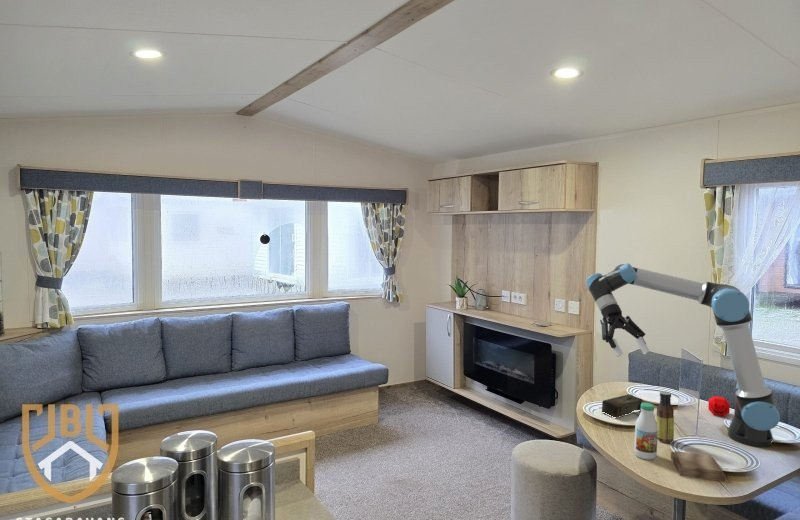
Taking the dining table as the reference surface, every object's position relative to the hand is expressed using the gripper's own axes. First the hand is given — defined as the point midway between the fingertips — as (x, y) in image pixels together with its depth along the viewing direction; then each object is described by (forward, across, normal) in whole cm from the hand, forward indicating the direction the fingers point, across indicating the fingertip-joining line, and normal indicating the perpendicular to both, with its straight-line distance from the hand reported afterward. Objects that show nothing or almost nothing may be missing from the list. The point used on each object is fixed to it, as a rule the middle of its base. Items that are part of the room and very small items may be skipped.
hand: (633, 354), depth 200 cm
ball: (+20, -63, -30) cm, 73 cm away
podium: (+43, -9, -7) cm, 44 cm away
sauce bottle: (+28, -18, -23) cm, 40 cm away
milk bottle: (+34, 0, -18) cm, 38 cm away
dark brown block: (+9, -24, -44) cm, 51 cm away
